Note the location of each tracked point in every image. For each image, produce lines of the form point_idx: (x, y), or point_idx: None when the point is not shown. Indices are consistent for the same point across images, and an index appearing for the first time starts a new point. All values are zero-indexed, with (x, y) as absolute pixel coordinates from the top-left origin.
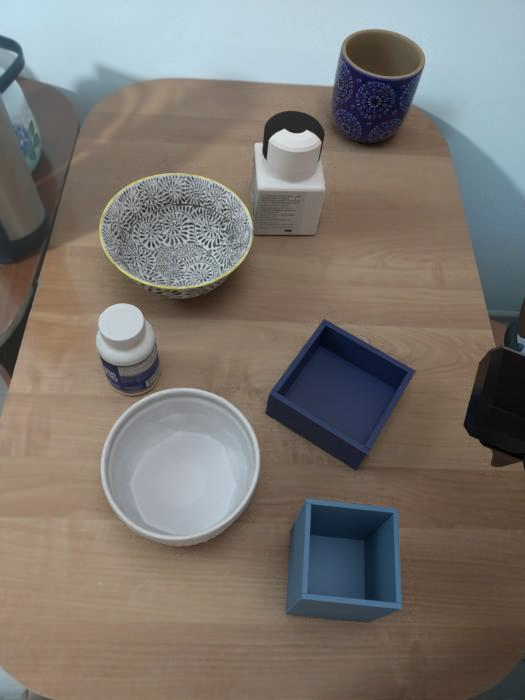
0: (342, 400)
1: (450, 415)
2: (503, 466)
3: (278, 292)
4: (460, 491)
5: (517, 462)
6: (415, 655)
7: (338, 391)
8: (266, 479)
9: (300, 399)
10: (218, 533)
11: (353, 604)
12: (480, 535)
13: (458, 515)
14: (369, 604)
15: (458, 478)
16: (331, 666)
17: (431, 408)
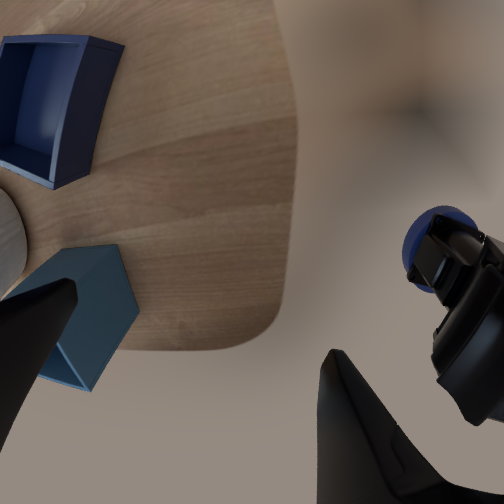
0: (58, 98)
1: (192, 53)
2: (52, 349)
3: (12, 13)
4: (210, 164)
5: (5, 438)
6: (183, 330)
7: (53, 89)
8: (33, 209)
9: (27, 118)
10: (18, 274)
11: (60, 383)
12: (239, 217)
13: (209, 197)
14: (69, 385)
15: (207, 146)
16: (126, 337)
17: (164, 53)
